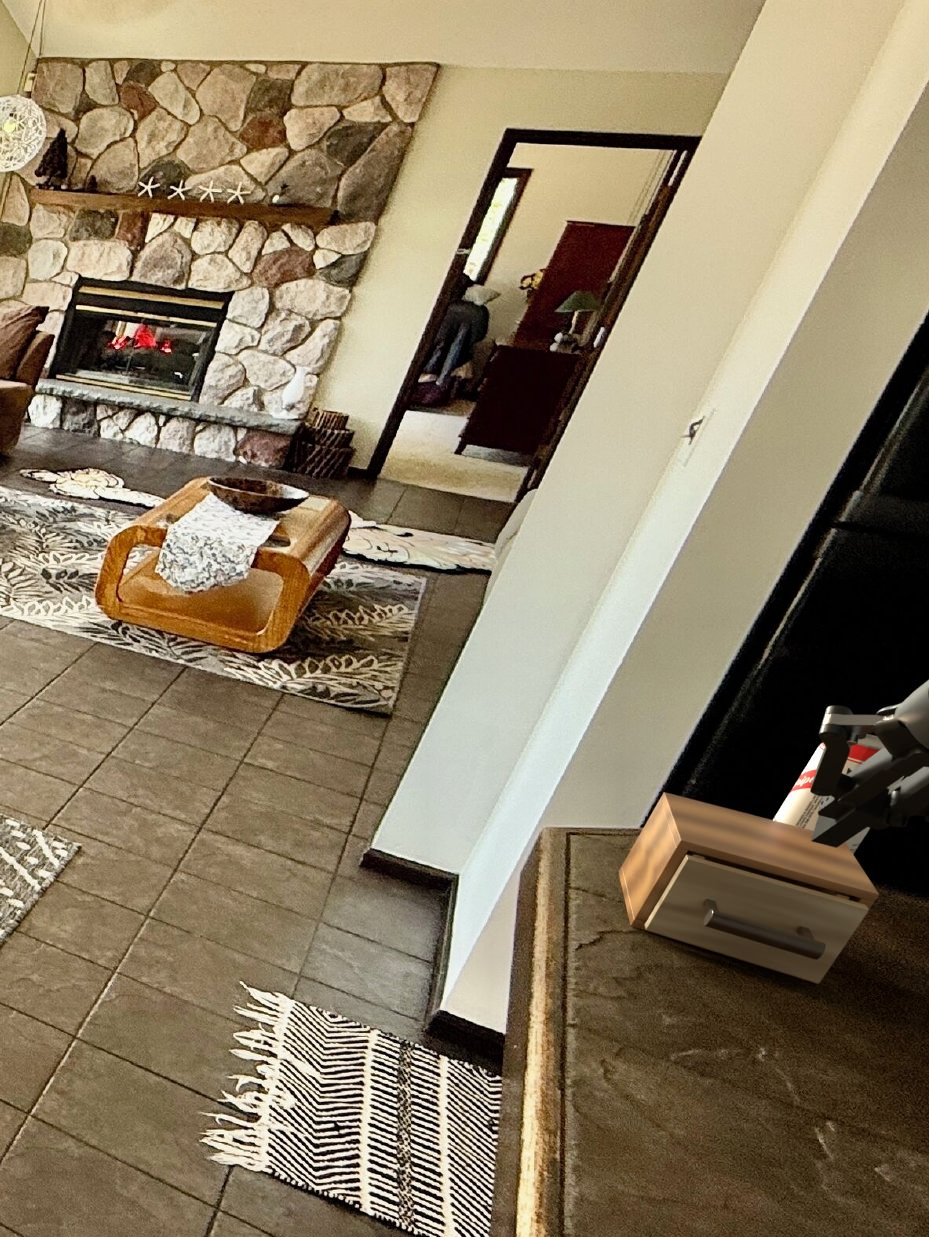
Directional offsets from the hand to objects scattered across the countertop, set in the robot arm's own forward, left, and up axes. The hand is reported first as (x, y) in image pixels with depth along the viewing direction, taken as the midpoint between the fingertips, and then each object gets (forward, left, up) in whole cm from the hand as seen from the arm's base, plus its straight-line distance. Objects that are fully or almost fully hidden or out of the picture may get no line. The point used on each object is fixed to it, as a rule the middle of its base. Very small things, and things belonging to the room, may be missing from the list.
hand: (827, 830), depth 98 cm
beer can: (-25, -27, -16) cm, 40 cm away
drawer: (-4, -7, -15) cm, 17 cm away
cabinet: (-7, -12, -16) cm, 21 cm away
